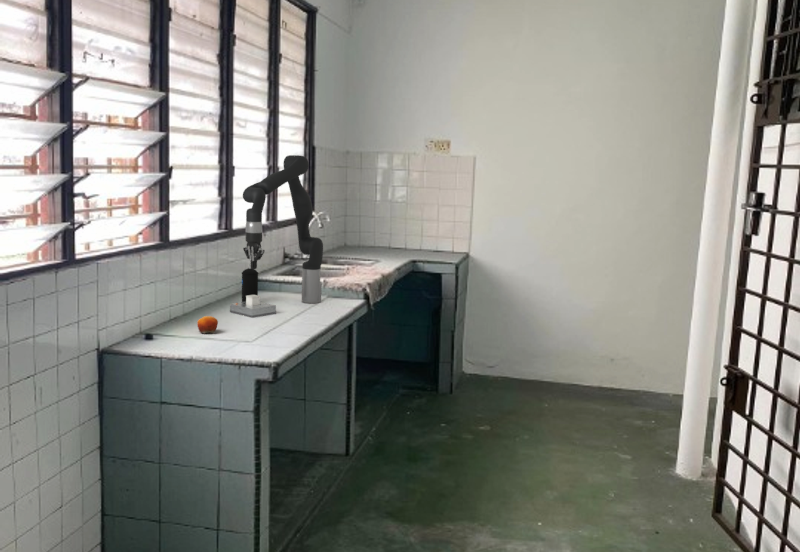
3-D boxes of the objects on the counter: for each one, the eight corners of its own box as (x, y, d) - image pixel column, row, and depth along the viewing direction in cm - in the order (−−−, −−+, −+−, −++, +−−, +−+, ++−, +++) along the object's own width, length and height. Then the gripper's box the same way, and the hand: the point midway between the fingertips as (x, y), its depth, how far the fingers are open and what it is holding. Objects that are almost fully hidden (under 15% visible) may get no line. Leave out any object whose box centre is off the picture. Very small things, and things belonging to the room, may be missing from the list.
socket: (253, 308, 346) (253, 299, 345) (275, 313, 336) (276, 304, 335) (229, 312, 335) (229, 302, 334) (252, 317, 325) (252, 307, 325)
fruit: (200, 333, 287) (198, 314, 289) (197, 339, 293) (195, 320, 296) (221, 331, 290) (218, 313, 293) (217, 337, 297) (214, 319, 299)
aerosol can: (261, 304, 357) (262, 264, 354) (249, 306, 350) (250, 265, 347) (249, 302, 361) (249, 262, 358) (237, 304, 354) (237, 264, 351)
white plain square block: (253, 309, 339) (253, 294, 338) (259, 310, 336) (259, 295, 335) (245, 310, 335) (246, 295, 334) (252, 312, 332) (252, 297, 331)
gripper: (269, 232, 329) (269, 269, 331) (251, 229, 337) (250, 266, 340) (256, 233, 323) (256, 271, 326) (238, 230, 331) (238, 267, 334)
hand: (253, 268), depth 333 cm, fingers closed
